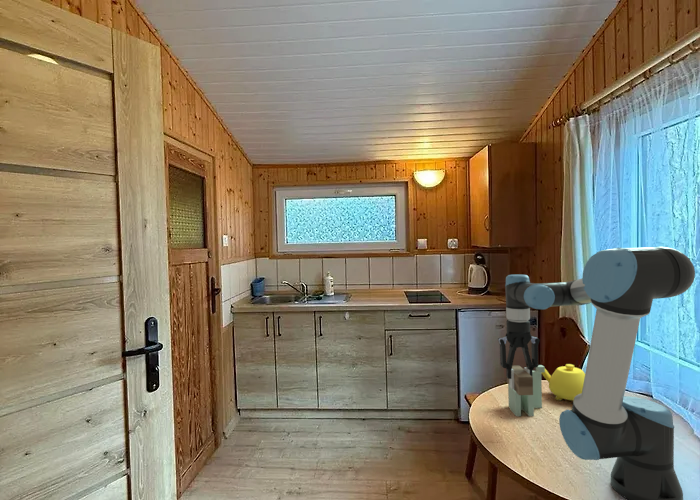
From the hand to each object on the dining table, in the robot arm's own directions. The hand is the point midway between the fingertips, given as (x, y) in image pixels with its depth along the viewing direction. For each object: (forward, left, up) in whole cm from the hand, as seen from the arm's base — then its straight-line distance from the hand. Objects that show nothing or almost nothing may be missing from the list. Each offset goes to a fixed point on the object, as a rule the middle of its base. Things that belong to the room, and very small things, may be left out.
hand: (519, 387), depth 141 cm
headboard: (+17, +3, -15) cm, 23 cm away
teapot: (+39, -3, -15) cm, 42 cm away
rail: (+2, +2, 0) cm, 3 cm away
